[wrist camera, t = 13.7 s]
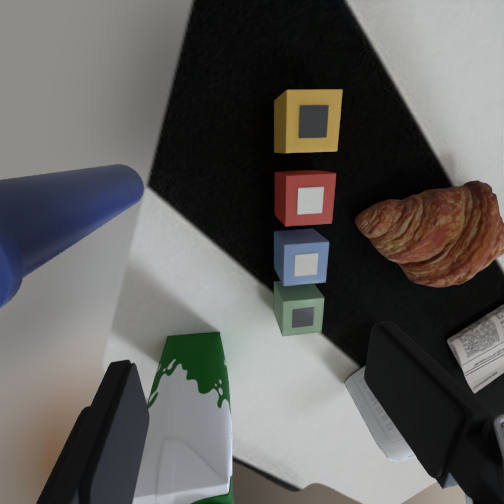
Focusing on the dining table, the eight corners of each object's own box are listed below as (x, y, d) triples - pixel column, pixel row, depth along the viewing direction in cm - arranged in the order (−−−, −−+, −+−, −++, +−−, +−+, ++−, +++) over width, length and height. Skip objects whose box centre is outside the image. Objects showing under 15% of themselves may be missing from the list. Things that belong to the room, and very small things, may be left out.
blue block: (273, 267, 33) (283, 287, 28) (273, 231, 31) (284, 245, 27) (310, 264, 34) (326, 282, 29) (312, 228, 32) (329, 241, 27)
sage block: (273, 312, 36) (282, 337, 31) (273, 281, 34) (283, 302, 29) (308, 308, 36) (321, 332, 32) (309, 277, 34) (324, 298, 30)
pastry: (382, 301, 38) (423, 338, 30) (348, 213, 32) (389, 232, 24) (488, 246, 36) (557, 270, 29) (474, 144, 31) (556, 142, 23)
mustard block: (273, 152, 28) (285, 153, 23) (274, 100, 26) (286, 89, 21) (317, 151, 28) (337, 151, 24) (320, 99, 27) (343, 88, 22)
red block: (274, 171, 29) (286, 175, 24) (317, 169, 29) (336, 173, 24) (274, 215, 30) (285, 226, 26) (314, 212, 31) (332, 223, 26)
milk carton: (227, 372, 39) (239, 574, 20) (166, 379, 38) (119, 599, 19) (225, 325, 35) (237, 514, 17) (158, 330, 34) (93, 539, 16)
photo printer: (352, 393, 44) (400, 477, 33) (339, 381, 43) (384, 465, 31) (401, 357, 43) (469, 433, 31) (388, 344, 41) (455, 418, 30)
